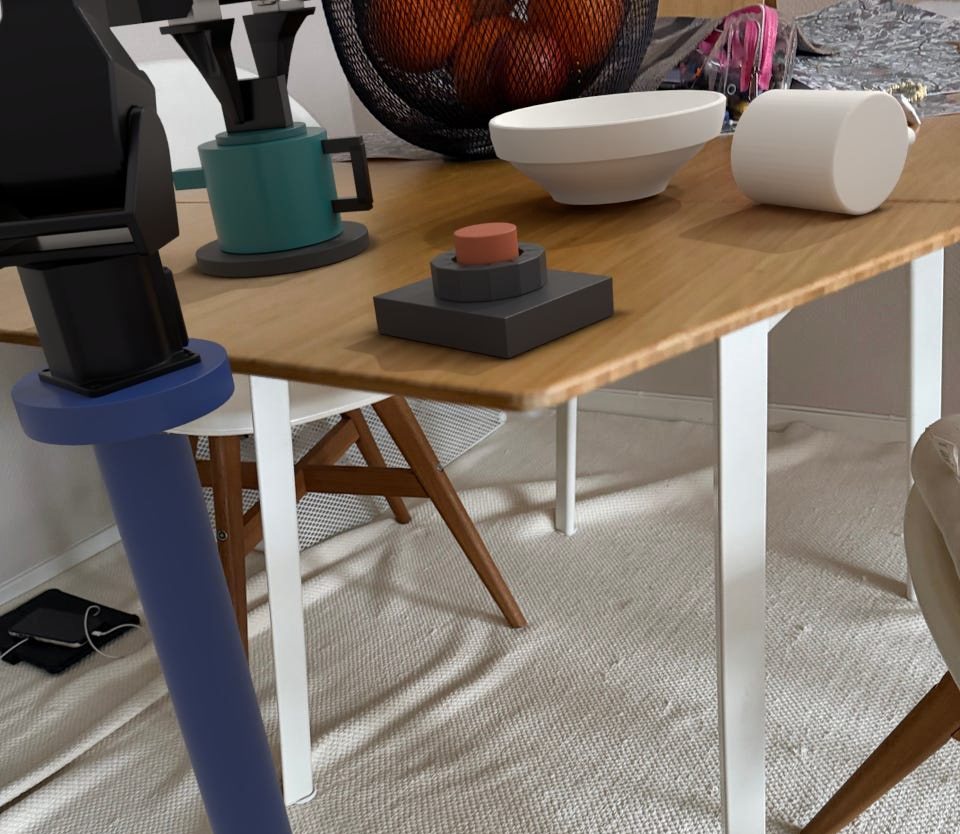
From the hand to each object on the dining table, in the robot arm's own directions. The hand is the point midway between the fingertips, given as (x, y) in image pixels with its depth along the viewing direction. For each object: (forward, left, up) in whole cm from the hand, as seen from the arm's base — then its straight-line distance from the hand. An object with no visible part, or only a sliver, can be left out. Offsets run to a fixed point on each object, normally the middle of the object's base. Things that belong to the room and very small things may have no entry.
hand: (258, 120), depth 84 cm
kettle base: (0, 0, -10) cm, 10 cm away
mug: (+28, -33, -10) cm, 44 cm away
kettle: (0, 0, -9) cm, 9 cm away
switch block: (-7, -31, -10) cm, 33 cm away
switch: (-7, -31, -6) cm, 32 cm away
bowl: (+25, -13, -10) cm, 30 cm away
